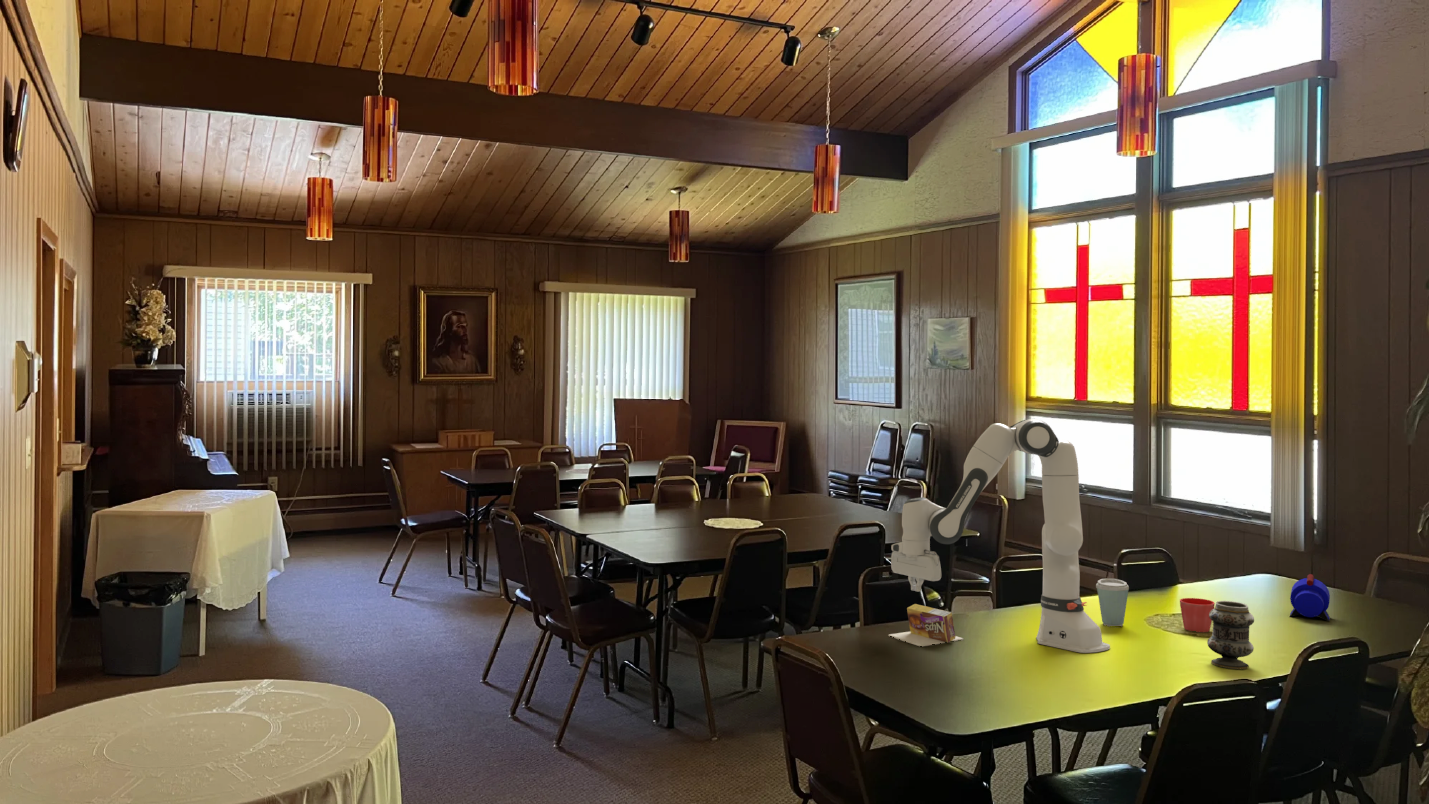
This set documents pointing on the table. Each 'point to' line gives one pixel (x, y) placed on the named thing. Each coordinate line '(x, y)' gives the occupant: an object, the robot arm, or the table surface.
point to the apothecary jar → (1230, 634)
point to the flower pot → (1196, 614)
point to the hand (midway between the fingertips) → (916, 590)
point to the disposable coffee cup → (1112, 601)
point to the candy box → (931, 623)
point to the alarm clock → (1310, 598)
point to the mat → (918, 639)
